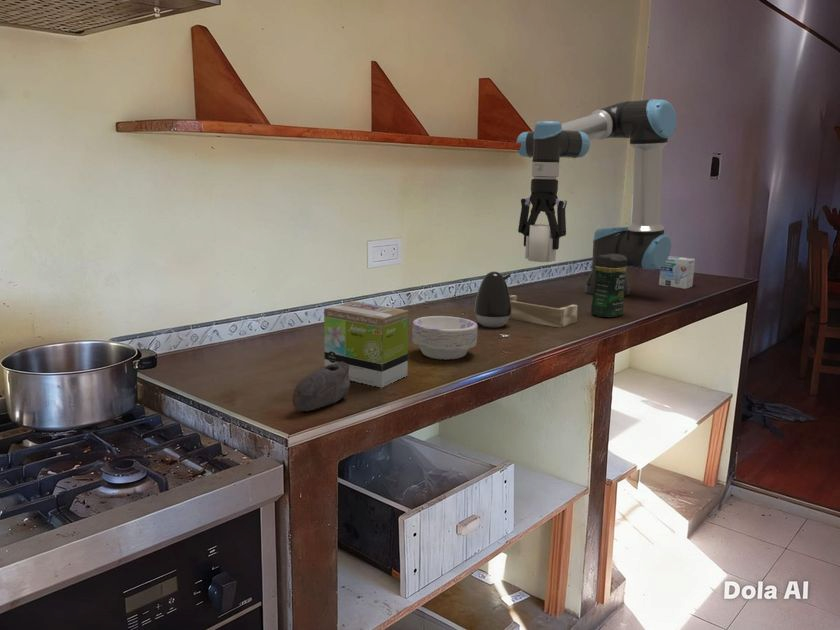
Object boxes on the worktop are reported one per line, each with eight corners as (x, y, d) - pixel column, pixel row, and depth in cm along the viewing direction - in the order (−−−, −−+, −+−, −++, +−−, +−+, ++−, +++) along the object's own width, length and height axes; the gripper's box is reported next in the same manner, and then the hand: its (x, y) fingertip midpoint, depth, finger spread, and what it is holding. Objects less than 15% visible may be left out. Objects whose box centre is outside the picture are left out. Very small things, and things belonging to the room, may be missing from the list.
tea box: (322, 376, 147) (322, 307, 144) (351, 365, 155) (351, 299, 152) (382, 389, 139) (382, 316, 136) (409, 377, 147) (410, 308, 144)
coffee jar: (608, 319, 206) (613, 256, 202) (586, 314, 211) (590, 253, 207) (627, 315, 212) (632, 254, 208) (605, 311, 218) (610, 251, 214)
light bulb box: (658, 285, 266) (660, 257, 264) (665, 283, 271) (667, 255, 269) (686, 289, 260) (689, 260, 257) (692, 286, 265) (695, 258, 262)
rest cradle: (511, 310, 215) (512, 294, 214) (576, 322, 201) (577, 305, 200) (494, 315, 208) (494, 299, 207) (560, 327, 194) (561, 310, 193)
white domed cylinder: (536, 258, 207) (537, 223, 205) (557, 260, 203) (559, 225, 200) (523, 260, 202) (525, 225, 200) (544, 262, 197) (546, 227, 195)
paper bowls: (489, 355, 165) (491, 322, 163) (444, 367, 155) (445, 332, 153) (443, 343, 176) (444, 312, 174) (398, 353, 165) (398, 320, 164)
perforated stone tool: (304, 420, 122) (303, 382, 121) (282, 414, 125) (281, 376, 123) (358, 397, 134) (358, 362, 133) (337, 392, 137) (337, 358, 136)
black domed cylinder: (518, 327, 194) (521, 273, 190) (487, 331, 189) (489, 275, 185) (497, 320, 202) (499, 267, 199) (466, 323, 197) (468, 270, 194)
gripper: (507, 177, 201) (503, 257, 205) (570, 179, 188) (564, 264, 193) (521, 177, 206) (517, 255, 211) (583, 179, 194) (577, 262, 199)
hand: (540, 259), depth 202 cm, fingers closed on white domed cylinder, 7 cm apart
